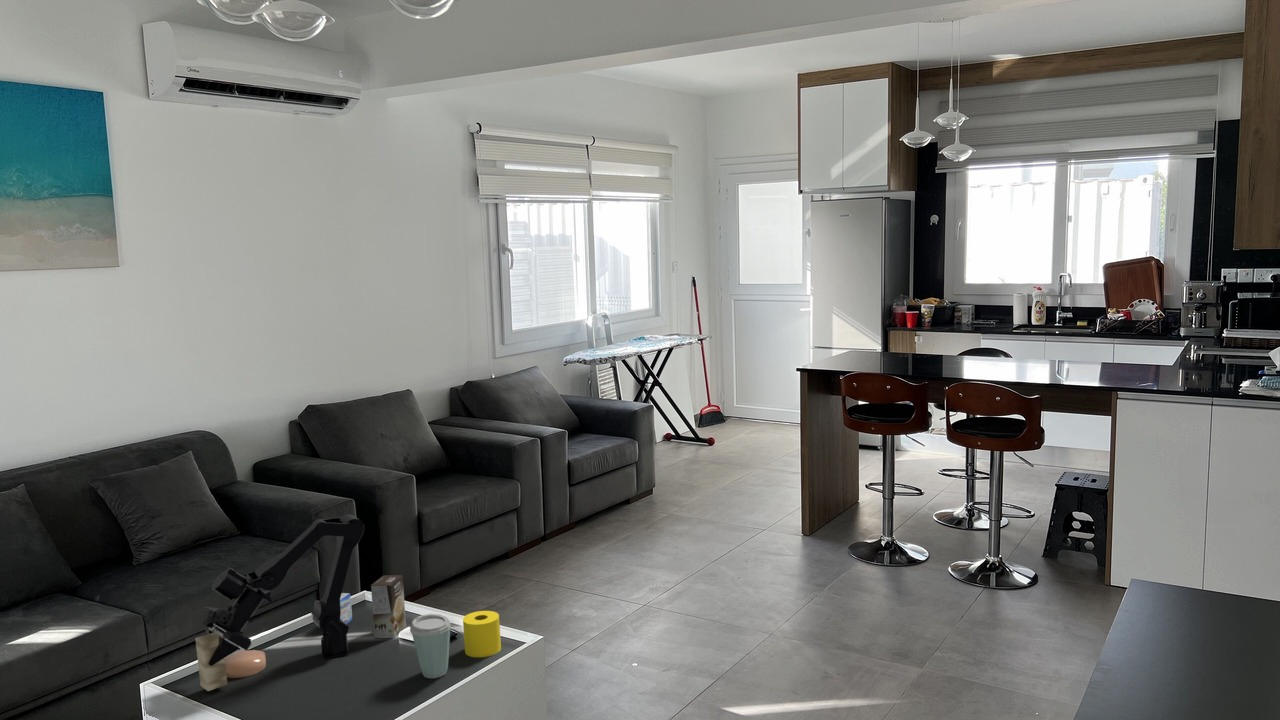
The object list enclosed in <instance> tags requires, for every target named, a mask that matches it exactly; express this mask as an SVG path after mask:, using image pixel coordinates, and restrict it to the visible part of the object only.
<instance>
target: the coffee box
mask: <svg viewBox="0 0 1280 720" xmlns="http://www.w3.org/2000/svg"><path fill="white" fill-rule="evenodd" d="M370 589H371V590H370V592H371V602H372V603H371V607H372V619H373V632H374V633H373V634H374V638H375V639H394V638H396V637H397V636H398V635H399V634H400V633H401V632H400V631H401V630H402V631H403V630H405V628H406V627H407V623H406V622H407V620H406V607H405V593H404V592H405V591H404V579H403V575H402V574H400V575H399V574H391V575H390V574H389V575H387V574H385V575H382V576H381V577H379V578H378V579H377V580H375V581H374V582H373V583H372V584H371V585H370ZM399 632H400V633H399Z"/></svg>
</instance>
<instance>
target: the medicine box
mask: <svg viewBox="0 0 1280 720" xmlns="http://www.w3.org/2000/svg"><path fill="white" fill-rule="evenodd" d="M340 607H341V615H340V619H341V620H342V621H343V622H344V623H345V624H346V625H348V624H349V623H350V622H352V620H353V611H352V609H353V608H352V600H351V593H350V592H349V593H348V592H347V593H346V592H342V594H341V597H340Z"/></svg>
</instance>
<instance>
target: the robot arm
mask: <svg viewBox="0 0 1280 720" xmlns="http://www.w3.org/2000/svg"><path fill="white" fill-rule="evenodd" d="M364 533H365V524H364V523H363V521H362V520H361V519H359V517H358V518H357V517H356V516H355V515H352V514H345V515H342V516H341V517H331V518H325V519H324V518H322V519H320V518H318V519H315V520H314V521H313V522H312V523H311V525H309V526H308V527H307V529H306V530H304V531H303V532H302V533H301V534H300V535H299V536H298V537H296V538H295V539H294V541H293V542H291V543H290V544H289V545H288V546H287V547H286V548H285V549H284V550H283V551H281V552H280V554H278V555H277V556H275V557H272V558H270V559H268V560H266V561H265V562H264V563H262V564H261V565H259V566H258V567H257V568H256V569H255V570H253V571H250V572H248V573H245V574H242V575H241V574H240V573H238V572H237V571H235V570H234V569H233V568H231V567H227V569H226V570H224V571H222V572H221V573H220V574H219V575H217V576H216V577H215V579H214V580H213V582H212V585H211V590H212V591H213V592H216V593H218V594H219V595H221V596H223V597H224V598H226V599H227V600H229V601H231V600H233V599H234V600H235V601H234V603H233V605H230V604H229V605H227V606H226V607H225V608H220V607H219V608H218V607H217V608H216V607H211V606H205V607H204V610H203V613H202V615H201V620H203V621H202V623H201V624H202V625H204V626H206V627H205V631H206V635H207V634H210V633H213V632H216V633H217V634H219V635H220V636H222V638H221V637H220V636H219V645H218V647H217V649H216V650H215V652H214V654H213V656H212V657H211V659H210V661H209V663H208V664H209V665H210V666H213V665H214V664H216V663H217V662H219V661H220V660H222V659H223V658H226V657H228V656H230V655H232V654H234V653H235V652H237V651H241V649H243V650H244V651H249V648H250V647H251V646H252V639H250V637H248V636H246V635H244V632H243V629H244V628H245V627H246V626H247V624H248V622H250V623H252V622H253V621H254V618H252V616H253V615H254V614H255V612H256V611H257V610H258V608H259V607H260V606H261V604H262V602H263V601H264V600H265V601H267V602H269V603H272V602H273V599H272V593H271V591H273V590H275V589H277V588H278V587H279V586H280V584H281V583H283V580H285V578H286V576H287V575H288V573H289V570H290V569H291V568H292V567H293V566H294V565H295V564H296V563H297V562H298V561H299V560H300V559H301V558H302V557H303V556H304V555H305V554H306V553H307V552H308V551H309V550H310V549H311V548H312V547H313V546H315V545H316V544H317V543H318V542H319V541H320V540H322V538H323V537H325V536H332V537H336V548H335V552H334V556H333V560H332V565H331V569H330V572H329V575H328V579H327V582H326V587H325V590H324V593H323V596H322V598H321V599H320V600H317V599H315V600H314V603H313V605H314V606H313V609H312V611H311V613H310V615H312V621H313V622H314V624H315V625H316V626H317V627H318V628H319V629H320V630H321V631H323V632H322V636H321V640H320V645H321V646H320V647H321V654H322V655H323V659H330V658H336V657H337V656H338V657H343V656H342V655H345V656H348V655H349V648H348V647H349V644H348V633H349V630H350V629H349V628H350V627H349V626H348V624H345V623H344V622H343V621H342V620H341V619H340V615H341V607H340V597H341V594H342V593H343V589H344V586H345V581H346V577H347V574H348V570H349V567H350V563H351V559H352V555H353V553H354V552H353V551H354V549H355V548H356V547H357V545H358V544H359V543H360V540H361V539H362V537H363V535H364ZM207 627H208V628H207ZM338 657H337V658H338Z"/></svg>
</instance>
